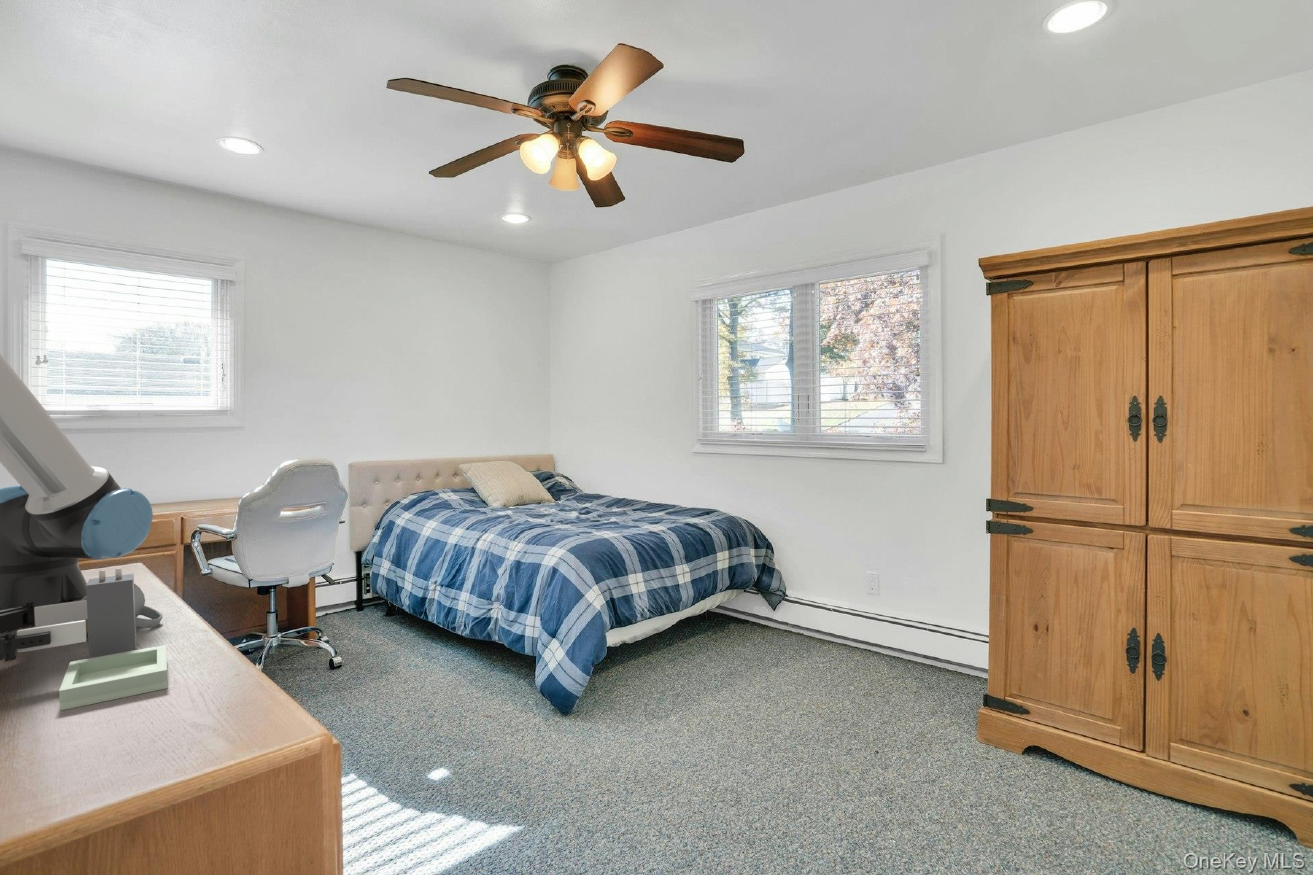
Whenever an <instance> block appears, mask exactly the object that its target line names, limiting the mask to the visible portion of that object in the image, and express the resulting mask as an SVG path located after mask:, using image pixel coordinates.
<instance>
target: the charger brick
mask: <svg viewBox="0 0 1313 875" xmlns="http://www.w3.org/2000/svg"><path fill="white" fill-rule="evenodd" d="M122 571H123V570H122V567H117V568H115V572H114V574H115V575H111V576H106V570H105V569H102V570H98V577H97V578H96V577H95V578H89V579H88V581H87V585H86V595H87V616H88V636H87V637H88V656H89V658H95V657H100V656H106V655H112V654H117V653H123V652H129V651H134V650H138V649H137V648H138V647H137V627H136V619H135V596H134V584H135V576H134V575H135V574H134V573H128V574H127V573H126V574H122ZM89 658H88V659H89Z"/></svg>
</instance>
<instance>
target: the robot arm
mask: <svg viewBox="0 0 1313 875" xmlns="http://www.w3.org/2000/svg"><path fill="white" fill-rule="evenodd" d="M0 464H1V465H2V466H3V468H4V469H5V470H6V471H7V472H8V473H9V474H10V476H11V477H12V478H13V479H15V481H16V482H17V483H18V484H19V485H12V486H11V485H10V486H5V487H0V661H2V660H4V663H6V662H7V663H8V662H12V661H15V660H17V653H24V652H32V651H38V650H43V649H48V648H49V649H50V648H55V647H61V646H68V645H74V644H79V643H86V642H87V634H86V620H85V619H88V616H87V600H82V599H83V598H84V597H85V596H86V585H87V583H88V581H86V579H85V577H84V574H83V572H82V571H81V568H80V566H79V565H80V564H79V559H88V560H89V559H92V560H104V559H105V560H106V559H116V558H120V557H121V558H122V557H123V556H127V555H128V554H130V553H132V552H133V551H136V550H137V548H139V547H140V546H141V545H142V544H143V542H144V541H145V540H146V538H147V537H148V535H149V533H150V531H151V525H152V524H151V523H152V522H153V521H154V520H153V519H154V518H153V508H152V504H151V503H150V501H149V499H148V497H147V496H146V495H144V494H143V493H142V492H140V491H137V490H135V489H132V488H130V487H129V488H127V487H124V488H122V487H120V485H119V484H118V482H117V481H116V480H115V479H114V477H113V476H112V475H111V474H110V472H109V471H108V470H107V469H106V468H104V467H101V466H95V465H94V466H93V465H89V463H88V462H87V461H86V460H85V458H84V457H83V456H82V455H81V453H80V452H79V450H77V448H76V447H75V445H73V443H72V441H70V439H69V438H68V437H67V435H66V434H65V433H64V431H62V429H61V428H60V427H59V425H58V424H57V423H56V422H55V420H54V419H53V418H52V416H51V415H50V414H49V413H48V412H47V410H46V409H45V407H44V406H43V405H42V404H41V403H40V401H39V400H38V399H37V397H36V396H35V395H34V394H33V393H32V392H31V390H30V389H29V387H28V386H27V385H26V384H25V383H24V381H23V380H22V378H20V376H19V375H18V374H17V372H16V371H15V370H14V369H13V368H12V366H11V365H10V363H9V362H8V361H7V359H6V358H5V357H4V356H3V355H2V353H1V352H0ZM81 600H82V601H81ZM78 620H81V621H78ZM74 621H75V622H74ZM32 626H34V627H32ZM27 627H29V628H27ZM12 631H16V633H15V632H12ZM8 632H9V633H8Z"/></svg>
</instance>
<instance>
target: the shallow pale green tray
mask: <svg viewBox="0 0 1313 875" xmlns="http://www.w3.org/2000/svg"><path fill="white" fill-rule="evenodd" d="M167 659H168V658H167V644H164V645H159V646H152V647H148V648H141V649H137V650H134V651H129V652H123V653H117V654H112V655H106V656H100V657H95V658H85V659H78V660H73V661H70V662H69V664H68V667H67V669H66V672H65V674H64V677H63V679H62V682H61V685H60V687H59V690H58V692H59V693H58V696H59V699H58V700H59V711H60V712H61V711H64V710H70V709H75V708H79V707H84V706H88V705H93V704H97V703H103V702H108V701H112V700H113V701H114V700H117V699H122V698H127V697H133V696H137V695H142V694H146V693H150V692H151V693H152V692H156V691H160V690H165V689H168V687H169V686H168V660H167Z"/></svg>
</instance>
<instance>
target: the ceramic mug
mask: <svg viewBox="0 0 1313 875" xmlns="http://www.w3.org/2000/svg"><path fill="white" fill-rule="evenodd" d="M134 596H135V619H136V628H138V629H139V628H140V629H153V628H155V627H158V626H159V625H160V623H161V621H162V620H163V614H162V612H160V611H159V610H156V609H155V608H152V607H150V606H147V605H145V604H146V599H145V594H144V592H143V590H142V589H141V587H140V586H139V585H137V584H136V583H134ZM82 600H87V595H86V596H85V597H84V598H83V599H82ZM82 600H81V601H82ZM139 616H142V617H146V618H142V617H139ZM85 620H86V636H87V635H88V619H85ZM78 621H81V620H78ZM73 622H75V621H73Z"/></svg>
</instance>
